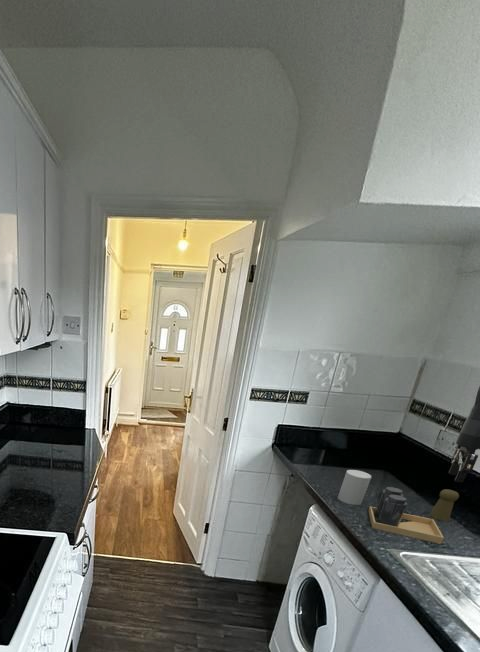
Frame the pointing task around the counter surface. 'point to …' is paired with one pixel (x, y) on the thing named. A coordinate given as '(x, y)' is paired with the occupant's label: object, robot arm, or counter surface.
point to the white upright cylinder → (354, 487)
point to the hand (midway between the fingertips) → (455, 478)
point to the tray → (411, 527)
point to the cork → (444, 505)
